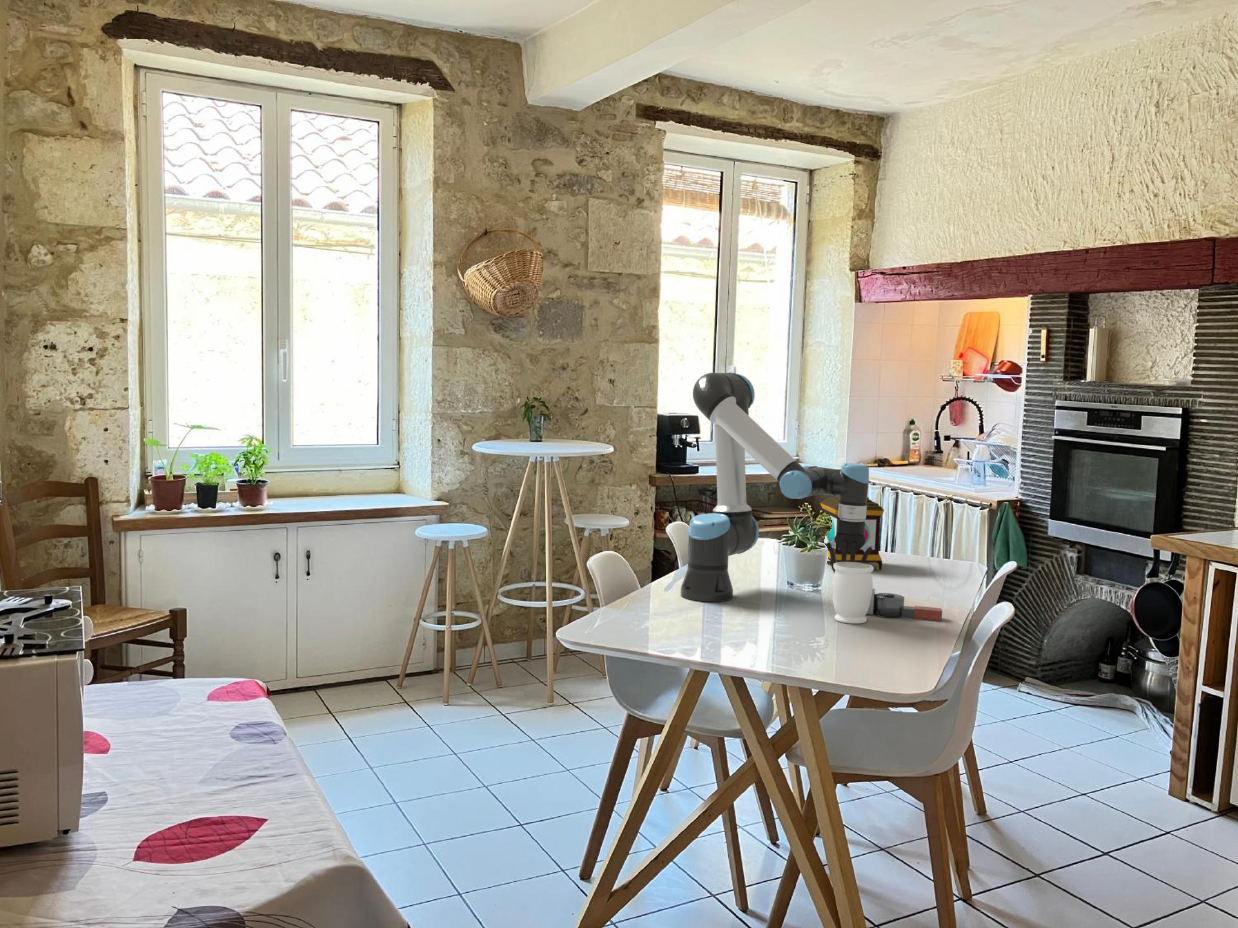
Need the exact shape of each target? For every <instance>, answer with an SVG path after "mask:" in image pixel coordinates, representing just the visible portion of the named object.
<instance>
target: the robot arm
mask: <svg viewBox="0 0 1238 928" xmlns="http://www.w3.org/2000/svg"><path fill="white" fill-rule="evenodd" d="M755 393H756V392H755V388H754V386H753V383H752V382H751V381H750V379H748V378H747V377H746V376H744V375H742V374H740V373H736V372H707V373H706V374H705V373H704V374H703V375H701V376H700V377H698V379H697V380H696V382H695V383H694V385H693V389H692V399H693V402H694V404H695V406H696V407H697V409H698V410H699V412H701V414H702V415H703V416H704V417H705V418H706V419H707V420H708V421H710V422H711V424H714V431H715V433H714V434H715V436H714V437H715V460H716V462H715V465H716V467H715V468H716V495H717V504H716V506H715V507H714V508H713V509H712V512H711V513H702V514H698V515H695V516H693V517H692V518H691V519H690V522H689V526H688V527H689V528H688V550H687V551H688V552H687V570H686V572H685V575H684V577H683V581H682V584H681V585H680V596H681V597H683V598H684V599H686V600H687V599H688V600H693V601H697V602H698V601H699V602H708V603H709V602H711V603H712V602H726V601H729V600H732V598H733V597H734V588H733V585H732V580H731V578H730V575H729V557H730V556H733V555H737V554H738V555H740V554H742V553H745V552H746V551H747V552H748V551H749V550H751V549H752V548H753V547H754V546H755V545H756V543H757V542H758V539H759V537H760V536H759V535H760V527H759V523H758V521H757V520H755V517H754V516H753V512H752V511H753V510H752V507H751V506H750V505H749V504H748V503H747V490H746V489H747V484H746V483H747V482H746V481H747V480H746V478H747V477H746V452H747V453H748V454H749V455H750V456H751V457H752V458H753V459H754V460H755V461H756V462H757V463H758V464H759V465H760V466H761V467H762V468H763V469H765V471H766V472H768V473H769V474H770V475H771V477H773V478H774V479H775V480H776V481H777V482H778V483H779V488H780V491H781V493H782V494H783V496H785V497H786V498H788V499H790V500H791V499H793V500H794V499H799V500H802V499H804V498H808V497H814V496H818V495H826V496H832V497H833V496H839V508H838V517H839V518H840V519H838V521H837V533H836V536H835V537H834V540H832V541H830V542H827V544H826V546H827V548H828V550H829V552H830V557H831V561H830V563H831V562H832V566H831V568H832V567H833V564H834V563H837V559H836V554H835V549H834V548H835V543H836V544H837V546H838V547H839V549H840V551H842V560H841V562H846V561H847V553H851V555H850V562H855V556H856V553H857V552H858V551H859V550H860V549H861V548H862V547H863V546H864V549H863V551H864V554H863V557H862V559H861V562H860V563H864V564H866V563H865V562H866V559H867V556H868V555H869V554H870V553H871V551H872V550H873V547H872V546H869V545H868V544H867V543H866V540H865V537H864V533H865V522H864V521H863V520H865V519H866V509H867V497H868V494H869V484H870V468H869V466H868V465H866V464H863V463H853V462H845V463H842V465H841V467H840V469H839V468H831V467H829V468H828V467H821V466H817V465H805V466H803V465H801V464H800V462H798V461H797V460H796V459H795V458H794V457H793V456H792V455H791V454H790V453H789V452H788V451H787V450H785V449H784V448H783V447H782V446H781V445H780V444H779V443H778V441H776V440H775V439H774V438H773V437H772V436H771V435H769V434H768V433H767V432H766V430H764V429H763V428H762V427H761V426H760V425H759V424H758V423H757V422H756V421H755V419H753V418H751V417H750V416H749V414H750V413H749V409H750V408H751V406H752V405H753V403H754V401H755V396H756V394H755ZM832 571H833V574H834V573H835V569H834V568H833V570H832Z"/></svg>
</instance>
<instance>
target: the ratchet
mask: <svg viewBox="0 0 1238 928" xmlns="http://www.w3.org/2000/svg"><path fill="white" fill-rule="evenodd" d="M873 608H874V609H873V615H875V616H878V617H881V618H887V619H898V618H907V619H908V618H909V619H917V620H927V621H936V622H942V621H943V609H942V607H932V606H921V605H914V606H911V605H910V606H909V605H905V596H903V595H901V594H897V593H891V592H880V593H875V595H874V603H873Z"/></svg>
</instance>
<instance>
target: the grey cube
mask: <svg viewBox="0 0 1238 928" xmlns="http://www.w3.org/2000/svg"><path fill="white" fill-rule="evenodd" d="M875 594H876V588H873V590H872V596H871V600H870V605H869V609H868V611H867V613H866V614H865V615H874V614H873V609H874V608H873V603H874V595H875Z"/></svg>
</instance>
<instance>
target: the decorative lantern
mask: <svg viewBox="0 0 1238 928" xmlns="http://www.w3.org/2000/svg"><path fill="white" fill-rule="evenodd" d="M820 506H821V508H822V513H823V512H826V513H828V514H830V517H831V520H832V529H830V531H827V532H826V534H825V539H824V543H825V545H826V544H827V542H830V541H832V540H834V537H835V536H836V533H837V521H838V519H840V518H839V517H838V508H839V496H833V495H832V497H826V499H823V500H822V501H820ZM884 512H885V509H884V508H883V507H882V506H881V505H879V503H878V502H876V501H875V502H874V501H873V500H871V499H870V498H869V497H868V496H867V509H866V519H865V520H863V521H864V522H865V533H864V537H865V540H866V543H867V544H868V545H869V546H872V547H873V550H872V551H871V553H870V554H869V555H868V556H867V559H866V562H865V564H869V563H875V565H876V570H877V571H878V570H880V571H882V568H883V560H882V557H881V555H880V553H879V552H880V533H881V520H882V519H881V518H882V516H883V514H884ZM834 549H835V554H836V559H837V562H841V560H842V551H840V549H839V547H838V546H837V544H836V543H835V548H834ZM863 549H864V546H863V547H862V548H861V549H860V550H859V551H858V552H857V553H856V556H855V562H858V563H860V562H861V559H862V557H863V554H864V551H863ZM850 555H851V553H847V561H846V562H850ZM827 560H828V561H829V562H830V564H831V566H830V567H831V570H832V571H833V567H832V562H831V557H830V552H829V550H828V559H827Z"/></svg>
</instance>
